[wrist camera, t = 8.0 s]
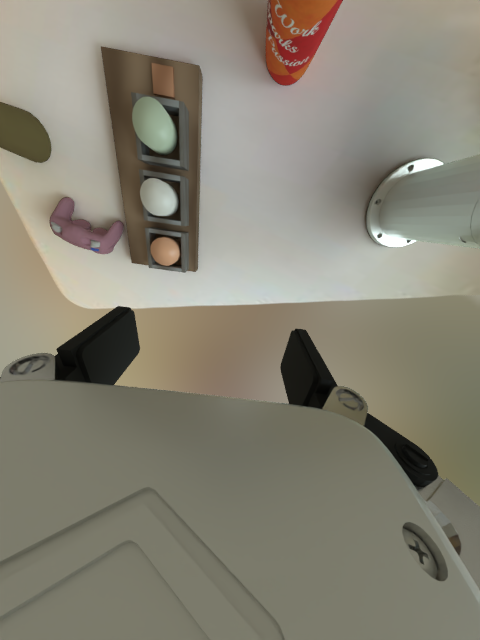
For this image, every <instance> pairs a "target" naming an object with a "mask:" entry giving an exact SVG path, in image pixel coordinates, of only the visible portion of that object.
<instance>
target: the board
mask: <svg viewBox="0 0 480 640" xmlns="http://www.w3.org/2000/svg"><path fill="white" fill-rule="evenodd" d="M101 51H102V58H103V65H104V72H105V79H106V86H107V93H108V100H109V107H110V114H111V121H112V128H113V135H114V142H115V149H116V156H117V162H118V169H119V176H120V183H121V190H122V197H123V204H124V211H125V218H126V225H127V232H128V239H129V246H130V253H131V260H132V263H136V264H143V265H149V268H156V269H163V270H170V271H177V272H186V271H194V272H196V271H197V269H198V237H199V197H200V156H201V116H202V73H201V70H200V66H198V65H193V64H188V63H183V62H178V61H173V60H168V59H163V58H158V57H152V56H147V55H142V54H137V53H132V52H127V51H122V50H117V49H111V48H106V47H101ZM142 97H152V98H154V99H156V100H157V101H158V102H159V103H160V104H161V105H162V106H163V107H164V109H165V110H166V112H167V113H168V114H169V116H170V117H171V119H172V120H173V122H174V124H175V126H176V129H177V136H178V137H177V144H176V147H175V149H174V150H173V151H172V152H171V153H170V154H168V155H160V154H158V153H156V152H155V151H153V150H152V149H151V148H150V147H148V146H147V145H146V144H144V143H143V142H142V141H141V140H140V139H139V137H138V136H137V134H136V132H135V129H134V126H133V121H132V112H133V108H134V105H135V103H136V102H137V101H138V100H139V99H140V98H142ZM149 178H156V179H159V180H161V181H163V182H165V183H168V184H169V185H171V186H172V187H173V188H174V189H175V191H176V193H177V195H178V199H179V206H178V209H177V211H176V212H175V213H174V214H173V215H171V216H157V215H153V214H152V213H150V212H149V211H148V210H147V209H146V208H145V207H144V205H143V203H142V201H141V197H140V189H141V186H142V184H143V182H144V181H145V180H147V179H149ZM166 236H170V237H173V238H175V239H177V240H178V241H179V243H180V244H181V258H180V259H179V260H178V261H176V262H175V263H173V264H172V265H169V266H164V265H161V264H159V263H158V262H156V261H155V260H154V258H153V257H152V254H151V250H150V248H151V244H152V242H153V241H154V240H155V239H157V238H161V237H166Z"/></svg>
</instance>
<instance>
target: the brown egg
mask: <svg viewBox="0 0 480 640" xmlns="http://www.w3.org/2000/svg"><path fill="white" fill-rule="evenodd" d="M150 250H151V254H152V257H153V258H154V260H155V261H156V262H158V263H159V264H161V265H164V266H169V265H172V264H173V263H175V262H176V261H178V260H179V259H180V258H181V244H180V243H179V241H178V240H177V239H175V238H173V237H170V236H166V237H161V238H157V239H155V240H154V241H153V242H152V244H151V248H150Z"/></svg>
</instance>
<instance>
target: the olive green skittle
mask: <svg viewBox="0 0 480 640" xmlns="http://www.w3.org/2000/svg"><path fill="white" fill-rule="evenodd" d="M0 147H1V148H3V149H5V150H8V151H10V152H13V153H15V154H17V155H20V156H22V157H24V158H27V159H29V160H32V161H34V162H40V163H42V162H44V161H47V159H48V158H49V157H50V154H51V142H50V139H49V136H48V134H47V132H46V130H45V128H44V127H43V125H42V124H41V123H40V122H39V120H38V119H37V118H36V117H34V116H33V115H32V114H31V113H29V112H27V111H25V110H22V109H19V108H17V107H14V106H11V105H8V104H5V103H2V102H0Z"/></svg>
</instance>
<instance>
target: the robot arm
mask: <svg viewBox="0 0 480 640" xmlns="http://www.w3.org/2000/svg"><path fill="white" fill-rule="evenodd" d="M375 202H376V203H375ZM366 222H367V229H368V232H369V234H370V236H371V238H372V239H373V240H374V241H375V242H376V243H378V244H380V245H383V246H386V247H402V246H406V245H409V244H411V243H414V242H415V241H422V242H431V243H439V244H447V245H455V246H463V247H471V248H479V249H480V155H476V156H473V157H469V158H465V159H462V160H458V161H454V162H451V163H447V164H444V163H443V162H441V161H440V160H437V159H434V158H423V159H418V160H414V161H411V162H409V163H406V164H404V165H402V166H400V167H399V168H397V169H396V170H395V171H393V172H392V173H391V174H390V175H389V176H388V177H386V178H385V179H384V181H383V182H382V183H381V184H380V186H379V187H378V188H377V190H376V192H375V193H374V195H373V197H372V199H371V201H370V204H369V207H368V211H367V218H366ZM377 235H378V236H377ZM139 350H140V346H139V340H138V333H137V327H136V321H135V315H134V311H132V310H131V308H129V307H121V306H118V307H116V308H115V309H113V310H112V311H110V312H109V313H108V314H106V315H105V316H103V317H102V318H100V319H99V320H98V321H96V322H95V323H93V324H92V325H90V326H89V327H87V328H86V329H85V330H83V331H82V332H80V333H79V334H77V335H76V336H74V337H73V338H72V339H70V340H69V341H67V342H66V343H64V344H63V345H61V346H60V347H59V348H57V352H58V354H57V355H56V356H54V355H52V354H48V353H38V354H32V355H28V356H25V357H22V358H20V359H17V360H15V361H14V362H12V363H10V364H9V365H8V366H6V367H5V369H4V370H3V372H2V375H1V377H0V640H480V507H479V506H478V505H477V504H476V503H474V502H473V501H472V500H471V499H470V498H469V497H467V495H465V494H464V493H463V492H462V491H461V490H460V489H459V488H457V487H456V486H455V485H454V484H453V483H452V482H451V481H449V480H448V479H447V478H446V479H445V480H443V479H442V478H441V477H440V476H438V472H437V468H436V466H435V465H434V463H433V461H432V460H431V459H430V457H429V456H428V455H427V454H426V453H425V452H424V451H423V450H422V449H420V448H419V447H418V446H417V445H415V444H414V443H412V442H411V441H409V440H408V439H406V438H405V437H403V436H402V435H400V434H399V433H397V432H396V431H394V430H393V429H391V428H390V427H388V426H387V425H385V424H384V423H382V422H381V421H379V420H378V419H376V418H375V417H373V416H372V415H370V414H368V413H367V412H368V406H367V403H366V401H365V400H364V399H363V397H362V396H360V395H359V394H358V393H357V392H355V391H354V390H352V389H350V388H348V387H344V386H337V384H336V382H335V381H334V379H333V377H332V375H331V373H330V372H329V370H328V368H327V366H326V364H325V363H324V361H323V359H322V357H321V356H320V354H319V352H318V351H317V349H316V347H315V345H314V343H313V342H312V340H311V338H310V336H309V335H308V333H307V331H306V330H303V329H295V330H294V331H292V332H291V334H290V338H289V341H288V344H287V347H286V350H285V353H284V356H283V359H282V363H281V373H282V377H283V381H284V385H285V389H286V393H287V397H288V401H289V404H285V403H276V402H267V401H259V400H250V399H241V398H232V397H223V396H214V395H204V394H195V393H185V392H176V391H166V390H157V389H147V388H137V387H127V386H116V385H114V384H115V383H116V381H117V380H118V379H119V377H120V376H121V375H122V374H123V372H124V371H125V370H126V369H127V367H128V366H129V365H130V364H131V362H132V361H133V359H134V358H135V357H136V356H137V355H138V353H139Z"/></svg>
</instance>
